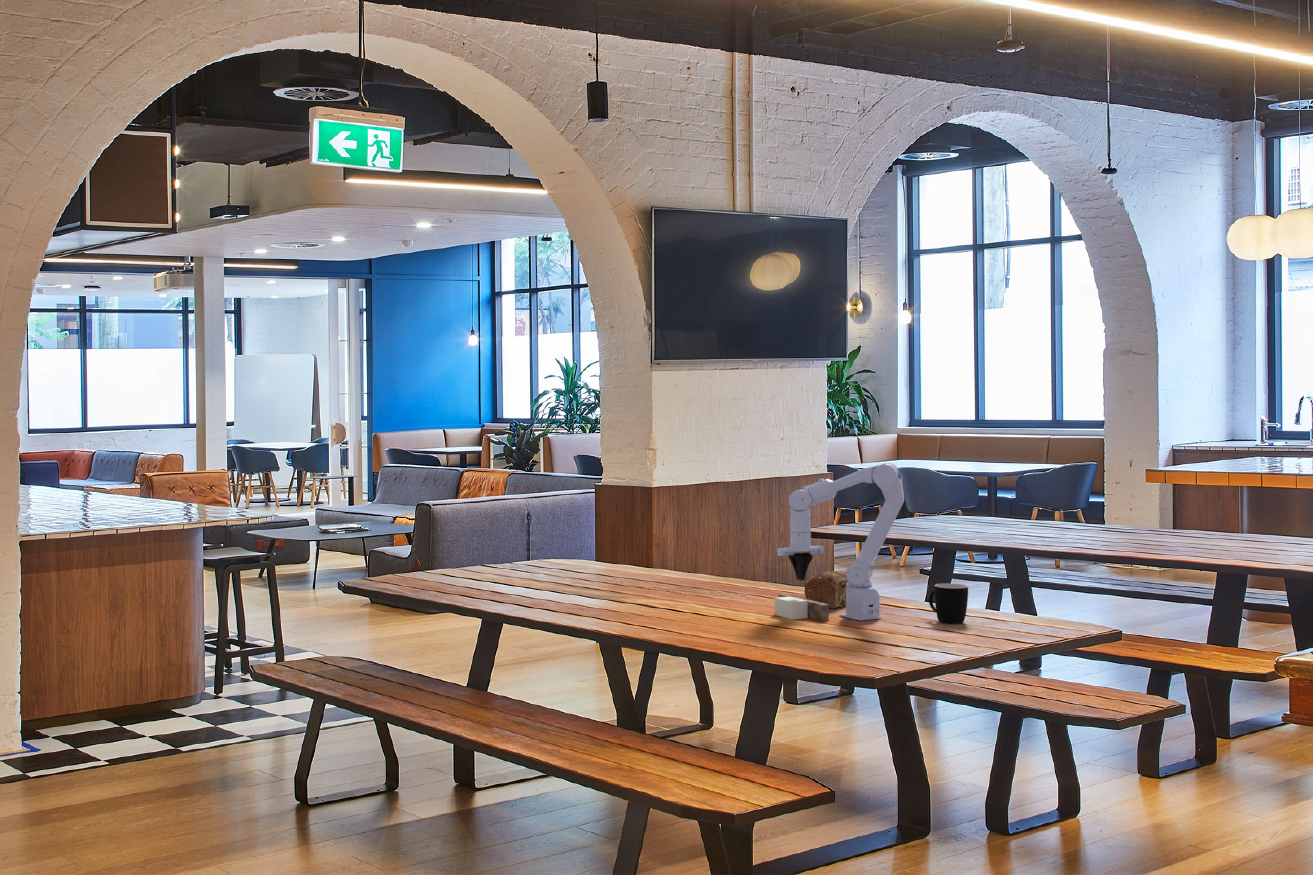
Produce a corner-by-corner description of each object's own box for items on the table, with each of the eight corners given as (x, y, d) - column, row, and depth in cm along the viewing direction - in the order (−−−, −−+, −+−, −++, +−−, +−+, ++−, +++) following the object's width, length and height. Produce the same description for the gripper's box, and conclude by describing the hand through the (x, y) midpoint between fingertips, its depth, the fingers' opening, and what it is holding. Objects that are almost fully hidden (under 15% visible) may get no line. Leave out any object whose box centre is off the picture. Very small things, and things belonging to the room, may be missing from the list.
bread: (836, 610, 371) (836, 576, 371) (802, 607, 377) (802, 573, 376) (860, 602, 387) (861, 569, 387) (828, 599, 393) (828, 566, 392)
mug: (974, 623, 349) (975, 586, 349) (953, 626, 343) (953, 589, 343) (940, 617, 358) (940, 581, 358) (918, 620, 353) (919, 583, 353)
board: (828, 620, 352) (828, 604, 352) (822, 621, 351) (822, 604, 351) (784, 609, 372) (784, 593, 372) (778, 609, 371) (778, 594, 371)
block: (807, 618, 357) (807, 600, 357) (792, 620, 355) (792, 602, 355) (789, 613, 365) (789, 596, 365) (774, 615, 363) (774, 597, 362)
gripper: (813, 529, 369) (813, 576, 370) (771, 532, 363) (771, 579, 363) (827, 531, 363) (827, 579, 364) (785, 534, 356) (785, 582, 357)
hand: (800, 579), depth 363 cm, fingers closed
